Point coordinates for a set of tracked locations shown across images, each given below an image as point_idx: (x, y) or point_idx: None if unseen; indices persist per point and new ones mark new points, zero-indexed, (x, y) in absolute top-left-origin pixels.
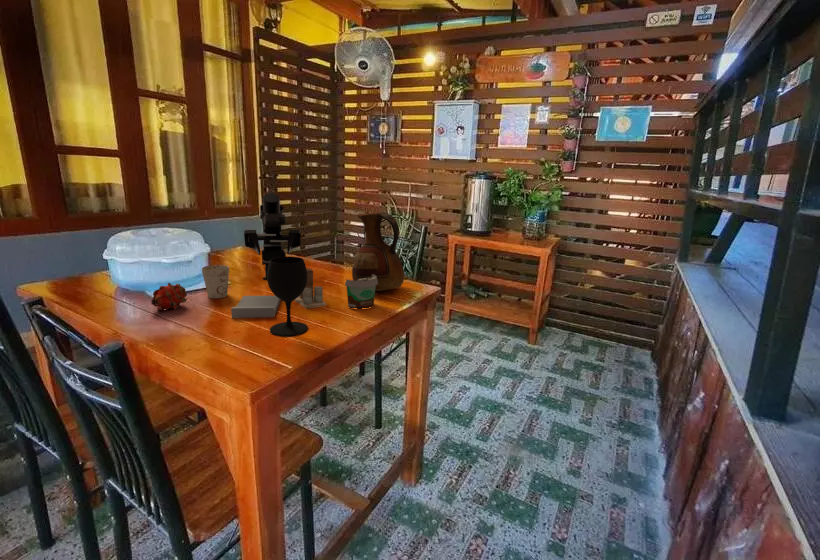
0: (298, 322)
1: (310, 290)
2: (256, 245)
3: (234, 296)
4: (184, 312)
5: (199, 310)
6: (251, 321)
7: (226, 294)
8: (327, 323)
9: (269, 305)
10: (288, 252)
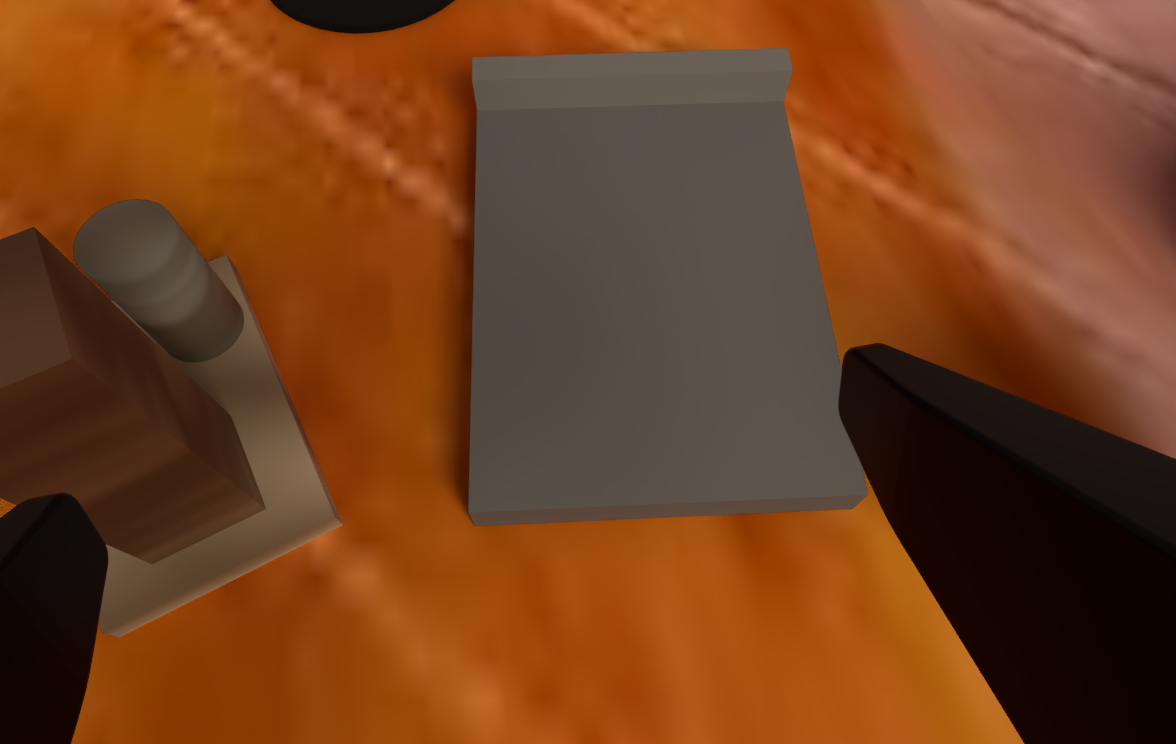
0: (309, 4)
1: (100, 218)
2: (1142, 453)
3: None
4: (1166, 205)
5: (1086, 243)
6: None
7: None
8: (125, 23)
9: (536, 222)
10: (46, 502)
